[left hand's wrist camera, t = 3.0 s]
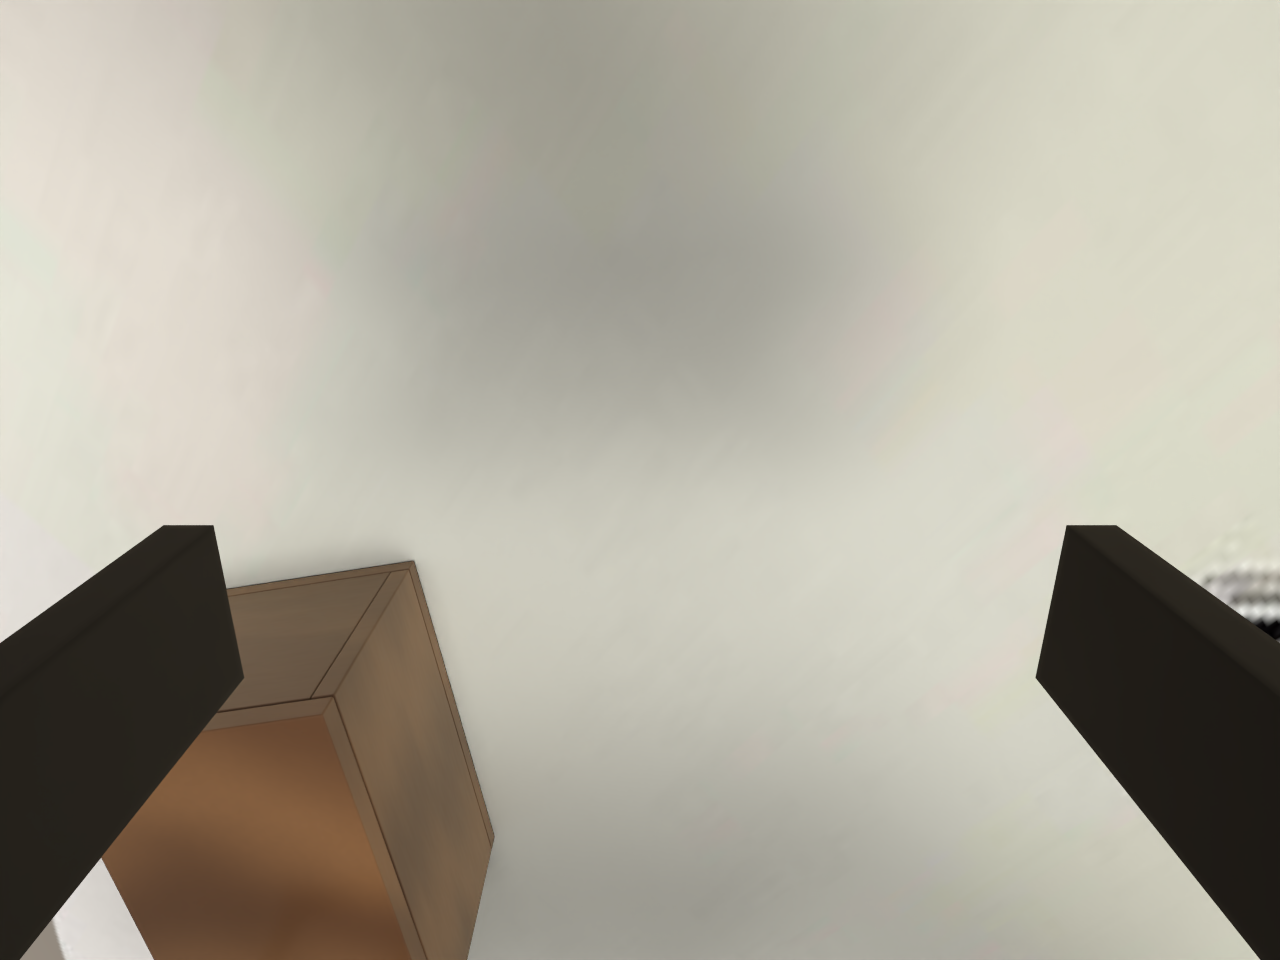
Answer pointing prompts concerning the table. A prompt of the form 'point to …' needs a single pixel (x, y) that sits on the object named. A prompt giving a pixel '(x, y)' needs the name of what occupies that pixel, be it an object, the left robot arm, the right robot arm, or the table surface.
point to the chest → (380, 725)
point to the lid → (264, 848)
